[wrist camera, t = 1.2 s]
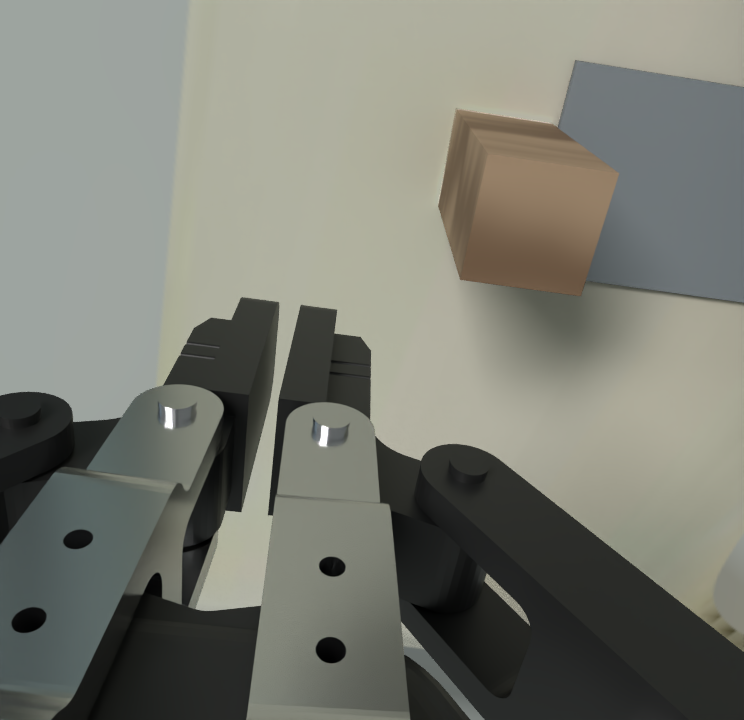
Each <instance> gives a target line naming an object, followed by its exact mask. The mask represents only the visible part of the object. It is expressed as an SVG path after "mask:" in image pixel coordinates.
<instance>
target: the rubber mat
mask: <svg viewBox="0 0 744 720" xmlns="http://www.w3.org/2000/svg"><path fill="white" fill-rule="evenodd" d="M558 128H559V129H560V130H561V131H563V132H564V133H565V134H567V135H568V136H569V137H571V138H572V139H574V140H575V141H576V142H578V143H579V144H580V145H582V146H583V147H584V148H586V149H587V150H588V151H590V152H591V153H592V154H594V155H595V156H597V157H598V158H599V159H601V160H602V161H603V162H605V163H606V164H607V165H609V166H610V167H611V168H613V169H614V170H615V171H617V172H618V173H619V176H618V179H617V182H616V186H615V189H614V192H613V195H612V198H611V202H610V205H609V208H608V211H607V214H606V217H605V221H604V224H603V227H602V230H601V233H600V237H599V240H598V243H597V246H596V249H595V252H594V256H593V259H592V262H591V265H590V268H589V272H588V275H587V278H586V281H591V282H599V283H606V284H613V285H620V286H628V287H635V288H642V289H649V290H656V291H664V292H671V293H678V294H685V295H693V296H700V297H707V298H714V299H721V300H729V301H736V302H743V303H744V87H739V86H733V85H726V84H720V83H714V82H708V81H701V80H695V79H689V78H683V77H676V76H670V75H664V74H658V73H651V72H645V71H639V70H633V69H626V68H620V67H614V66H608V65H601V64H595V63H589V62H583V61H576V60H575V64H574V68H573V71H572V75H571V79H570V83H569V87H568V90H567V94H566V98H565V102H564V106H563V109H562V113H561V117H560V121H559V125H558Z"/></svg>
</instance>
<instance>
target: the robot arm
mask: <svg viewBox="0 0 744 720" xmlns="http://www.w3.org/2000/svg"><path fill="white" fill-rule="evenodd" d="M336 315H337V310H335V309H327V308H319V307H312V306H304V305H301V307H300V311H299V315H298V319H297V323H296V328H295V332H294V336H293V340H292V345H291V349H290V353H289V357H288V361H287V366H286V370H285V374H284V378H283V383H282V387H281V391H280V395H279V401H278V412H277V423H276V434H275V445H274V456H273V467H272V478H271V489H270V500H269V511H268V515H272V516H273V519H272V527H271V535H270V542H269V550H268V558H267V565H266V573H265V581H264V589H263V596H262V604H261V606H255V607H246V608H237V609H227V610H218V611H200V610H196V609H195V608H196V605H197V602H198V600H199V597H200V594H201V591H202V588H203V585H204V582H205V579H206V577H207V574H208V571H209V568H210V565H211V562H212V559H213V556H214V554H215V551H216V548H217V543H218V529H219V528H220V526H221V523H222V520H223V517H224V514H225V510H226V511H235V512H241V511H242V507H243V503H244V499H245V496H246V492H247V488H248V484H249V480H250V476H251V472H252V468H253V464H254V461H255V457H256V453H257V449H258V445H259V441H260V437H261V433H262V429H263V426H264V422H265V418H266V414H267V410H268V406H269V402H270V397H271V391H272V384H273V376H274V365H275V354H276V342H277V330H278V319H279V302H274V301H266V300H259V299H251V298H243V297H242V298H241V299H240V302H239V304H238V306H237V308H236V311H235V313H234V315H233V318H232V320H225V319H217V318H210V319H208V320H207V321H205V322H203V323H202V324H200V325H198V326H197V327H195V328H194V329H193V331H192V333H191V335H190V337H189V339H188V340H187V344H185V346H184V348H183V350H182V352H181V355H180V356H179V357H178V359H177V361H176V363H175V365H174V366H173V368H172V370H171V372H170V374H169V376H168V378H167V379H166V381H165V383H164V385H163V386H159V387H155V388H152V389H149V390H147V391H145V392H143V393H141V394H140V395H139V396H137V397H136V398H135V399H134V400H133V401H132V403H131V404H130V406H129V407H128V409H127V410H126V412H125V413H124V414H123V416H122V417H121V418H116V419H109V420H98V421H84V422H73V414H72V410H71V407H70V406H69V404H68V403H67V402H66V401H64V400H63V399H61V398H59V397H56V396H54V395H50V394H46V393H39V392H18V393H10V394H5V395H1V396H0V720H470V719H469V718H468V717H467V715H466V714H465V713H464V712H463V711H462V710H461V708H460V707H459V706H458V705H457V703H456V702H455V701H454V700H453V698H452V697H451V696H450V695H449V694H448V692H447V691H446V690H445V689H444V688H443V687H442V686H441V684H440V683H439V682H438V681H437V680H436V679H434V678H433V677H432V676H431V675H430V674H429V673H428V672H427V671H426V670H425V669H424V668H422V667H421V666H420V665H418V664H417V663H416V662H414V661H413V660H411V659H410V658H409V657H407V656H406V655H404V649H403V638H402V627H401V622H402V623H403V624H404V625H405V626H406V628H407V629H408V630H409V631H410V632H411V633H412V635H413V636H414V637H415V638H416V639H417V641H418V642H419V643H420V644H421V645H422V646H423V648H424V649H425V650H426V651H427V652H428V653H429V655H430V656H431V657H432V658H433V659H434V660H435V662H436V663H437V664H438V665H439V666H440V668H441V669H442V670H443V671H444V672H445V673H446V675H447V676H448V677H449V678H450V679H451V681H452V682H453V683H454V684H455V685H456V686H457V688H458V689H459V690H460V691H461V692H462V693H463V695H464V696H465V697H466V698H467V699H468V700H469V702H470V703H471V704H472V705H473V706H474V708H475V709H476V710H477V711H478V712H479V713H480V715H481V716H482V717H483V718H484V719H485V720H744V652H743V651H741V650H740V649H739V648H738V647H736V646H735V645H734V644H733V643H731V642H730V641H729V640H727V639H726V638H725V637H724V636H722V635H721V634H720V633H719V632H717V631H716V630H715V629H714V628H712V627H711V626H710V625H708V624H707V623H706V622H705V621H703V620H702V619H701V618H700V617H698V616H697V615H696V614H694V613H693V612H692V611H691V610H689V609H688V608H687V607H686V606H684V605H683V604H682V603H681V602H679V601H678V600H677V599H675V598H674V597H673V596H672V595H670V594H669V593H668V592H667V591H665V590H664V589H663V588H662V587H660V586H659V585H658V584H656V583H655V582H654V581H653V580H651V579H650V578H649V577H648V576H646V575H645V574H644V573H642V572H641V571H640V570H639V569H637V568H636V567H635V566H634V565H632V564H631V563H630V562H629V561H627V560H626V559H625V558H623V557H622V556H621V555H620V554H618V553H617V552H616V551H615V550H613V549H612V548H611V547H609V546H608V545H607V544H606V543H604V542H603V541H602V540H601V539H599V538H598V537H597V536H596V535H594V534H593V533H592V532H590V531H589V530H588V529H587V528H585V527H584V526H583V525H582V524H580V523H579V522H578V521H577V520H575V519H574V518H573V517H571V516H570V515H569V514H568V513H566V512H565V511H564V510H563V509H561V508H560V507H559V506H557V505H556V504H555V503H554V502H552V501H551V500H550V499H549V498H547V497H546V496H545V495H544V494H542V493H541V492H540V491H538V490H537V489H536V488H535V487H533V486H532V485H531V484H530V483H528V482H527V481H526V480H525V479H523V478H522V477H521V476H519V475H518V474H517V473H516V472H514V471H513V470H512V469H511V468H509V467H508V466H507V465H505V464H504V463H503V462H502V461H500V460H499V459H498V458H496V457H495V456H493V455H491V454H490V453H488V452H486V451H483V450H481V449H478V448H475V447H472V446H467V445H460V444H447V445H441V446H437V447H435V448H432V449H430V450H429V451H428V452H426V453H425V455H424V456H423V458H422V460H421V461H420V460H417V459H414V458H411V457H408V456H405V455H402V454H400V453H398V452H396V451H394V450H392V449H390V448H388V447H387V446H385V445H384V444H383V443H382V442H380V441H379V440H378V438H377V437H376V436H375V429H374V426H373V424H372V422H371V421H370V386H371V380H370V377H371V368H370V367H371V350H370V349H369V348H368V346H367V345H366V344H365V342H364V341H363V340H362V338H361V337H356V336H348V335H340V334H334V331H335V323H336ZM486 573H487V574H488V575H490V576H491V577H492V578H493V579H494V580H495V581H496V582H497V583H498V584H499V585H500V586H501V587H502V588H503V589H504V590H505V591H506V592H507V593H508V594H509V595H510V596H511V597H512V598H513V599H514V600H515V601H516V602H517V603H518V604H519V605H520V606H521V607H522V609H523V610H524V612H525V614H526V615H527V618H528V620H529V623H530V626H529V625H528V624H527V623H526V622H525V621H524V620H523V619H522V618H521V617H520V616H519V615H518V614H517V613H516V612H515V611H514V610H513V609H512V608H511V607H510V606H509V605H508V604H507V603H506V602H505V601H504V600H503V599H502V598H501V597H500V596H499V595H498V594H497V593H496V592H494V591H493V590H492V589H491V588H490V587H489V586H488V585H487V584H486V583H485V582H484V580H485V577H486Z"/></svg>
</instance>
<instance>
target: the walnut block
mask: <svg viewBox="0 0 744 720" xmlns="http://www.w3.org/2000/svg"><path fill="white" fill-rule="evenodd" d="M618 176H619V173H618V172H617V171H615V170H614V169H613V168H611V167H610V166H609V165H607V164H606V163H605V162H603V161H602V160H601V159H599V158H598V157H597V156H595V155H594V154H592V153H591V152H590V151H588V150H587V149H586V148H584V147H583V146H582V145H580V144H579V143H578V142H576V141H575V140H574V139H572V138H571V137H569V136H568V135H567V134H565V133H564V132H563V131H561V130H560V129H559V128H557V127H556V126H555V125H553V124H552V123H548V122H542V121H535V120H529V119H522V118H516V117H509V116H503V115H496V114H490V113H483V112H477V111H470V110H464V109H457V108H456V111H455V116H454V122H453V127H452V132H451V137H450V143H449V148H448V153H447V158H446V163H445V169H444V174H443V179H442V184H441V189H440V195H439V200H438V207H439V210H440V213H441V217H442V220H443V223H444V227H445V230H446V233H447V237H448V240H449V244H450V247H451V250H452V254H453V257H454V260H455V264H456V267H457V270H458V274H459V277H460V280H466V281H474V282H481V283H488V284H496V285H503V286H510V287H517V288H525V289H532V290H539V291H547V292H554V293H561V294H569V295H576V296H581V294H582V291H583V287H584V284H585V281H586V278H587V275H588V272H589V268H590V265H591V262H592V259H593V256H594V252H595V249H596V246H597V243H598V240H599V237H600V233H601V230H602V227H603V224H604V221H605V217H606V214H607V211H608V208H609V205H610V202H611V198H612V195H613V192H614V189H615V186H616V182H617V179H618Z"/></svg>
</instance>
